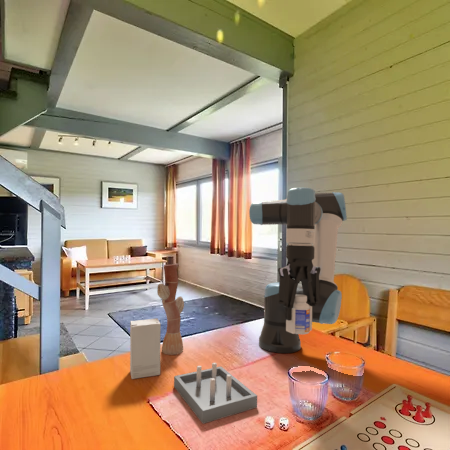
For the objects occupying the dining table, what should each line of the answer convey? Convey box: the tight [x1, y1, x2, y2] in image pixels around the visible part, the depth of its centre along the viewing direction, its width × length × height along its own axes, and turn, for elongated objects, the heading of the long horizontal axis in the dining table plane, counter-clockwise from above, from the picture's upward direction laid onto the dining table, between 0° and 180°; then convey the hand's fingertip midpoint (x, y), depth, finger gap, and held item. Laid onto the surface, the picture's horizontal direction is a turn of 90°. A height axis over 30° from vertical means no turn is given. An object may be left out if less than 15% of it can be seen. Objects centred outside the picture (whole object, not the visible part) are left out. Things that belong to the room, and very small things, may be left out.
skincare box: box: [129, 318, 162, 380], centre depth 89 cm, size 8×6×15 cm
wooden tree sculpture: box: [156, 263, 185, 356], centre depth 106 cm, size 10×7×30 cm
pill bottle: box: [293, 294, 311, 335], centre depth 83 cm, size 5×5×10 cm
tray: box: [173, 362, 258, 424], centre depth 77 cm, size 18×14×6 cm
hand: (298, 330), depth 83 cm, fingers closed on pill bottle, 5 cm apart
